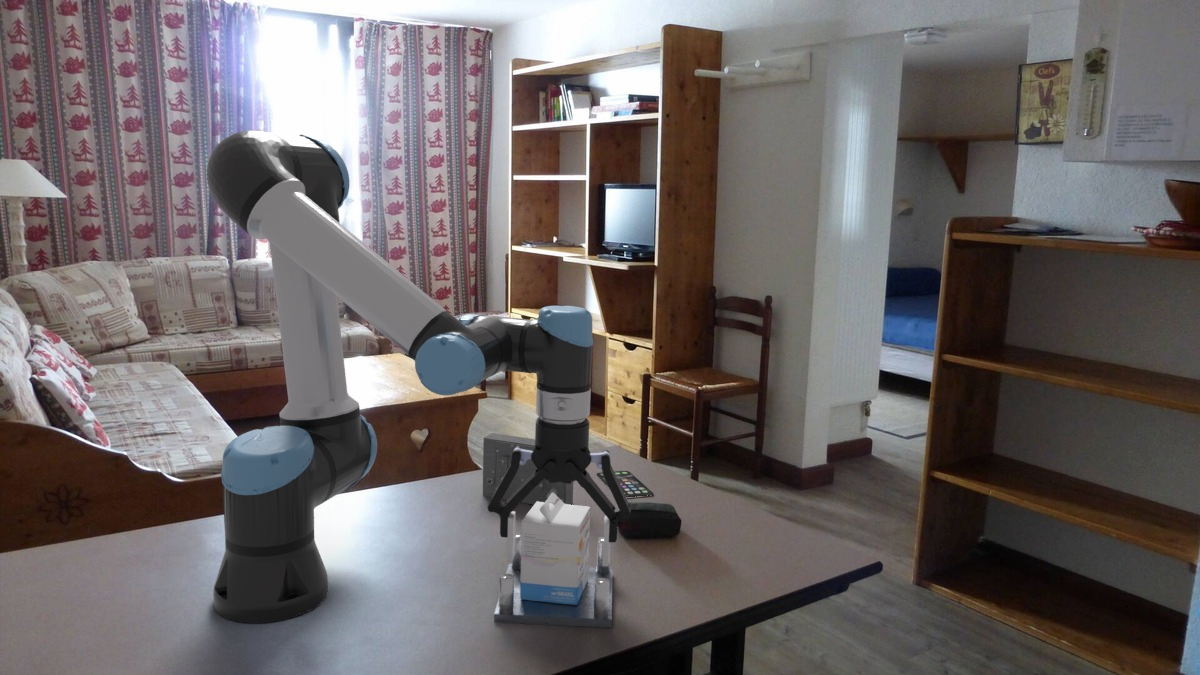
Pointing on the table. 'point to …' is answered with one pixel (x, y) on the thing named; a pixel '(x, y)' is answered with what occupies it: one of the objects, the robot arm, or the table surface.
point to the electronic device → (498, 462)
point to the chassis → (587, 613)
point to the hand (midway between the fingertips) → (557, 560)
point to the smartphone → (629, 484)
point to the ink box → (555, 552)
